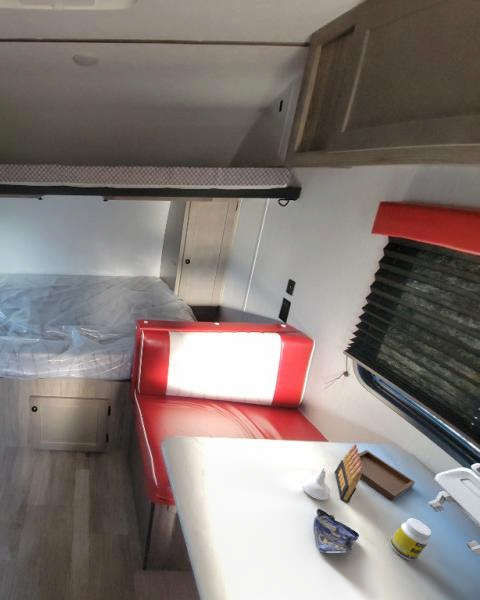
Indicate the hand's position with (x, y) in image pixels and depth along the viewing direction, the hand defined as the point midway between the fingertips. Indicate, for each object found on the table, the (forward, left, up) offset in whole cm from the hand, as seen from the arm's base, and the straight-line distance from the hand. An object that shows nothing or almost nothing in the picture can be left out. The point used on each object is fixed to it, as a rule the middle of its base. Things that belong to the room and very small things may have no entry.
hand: (449, 526), depth 74 cm
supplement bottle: (+3, +5, -10) cm, 12 cm away
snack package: (+12, +19, -10) cm, 25 cm away
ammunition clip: (+19, 0, -10) cm, 22 cm away
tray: (+17, -15, -10) cm, 25 cm away
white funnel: (+21, +10, -10) cm, 25 cm away
